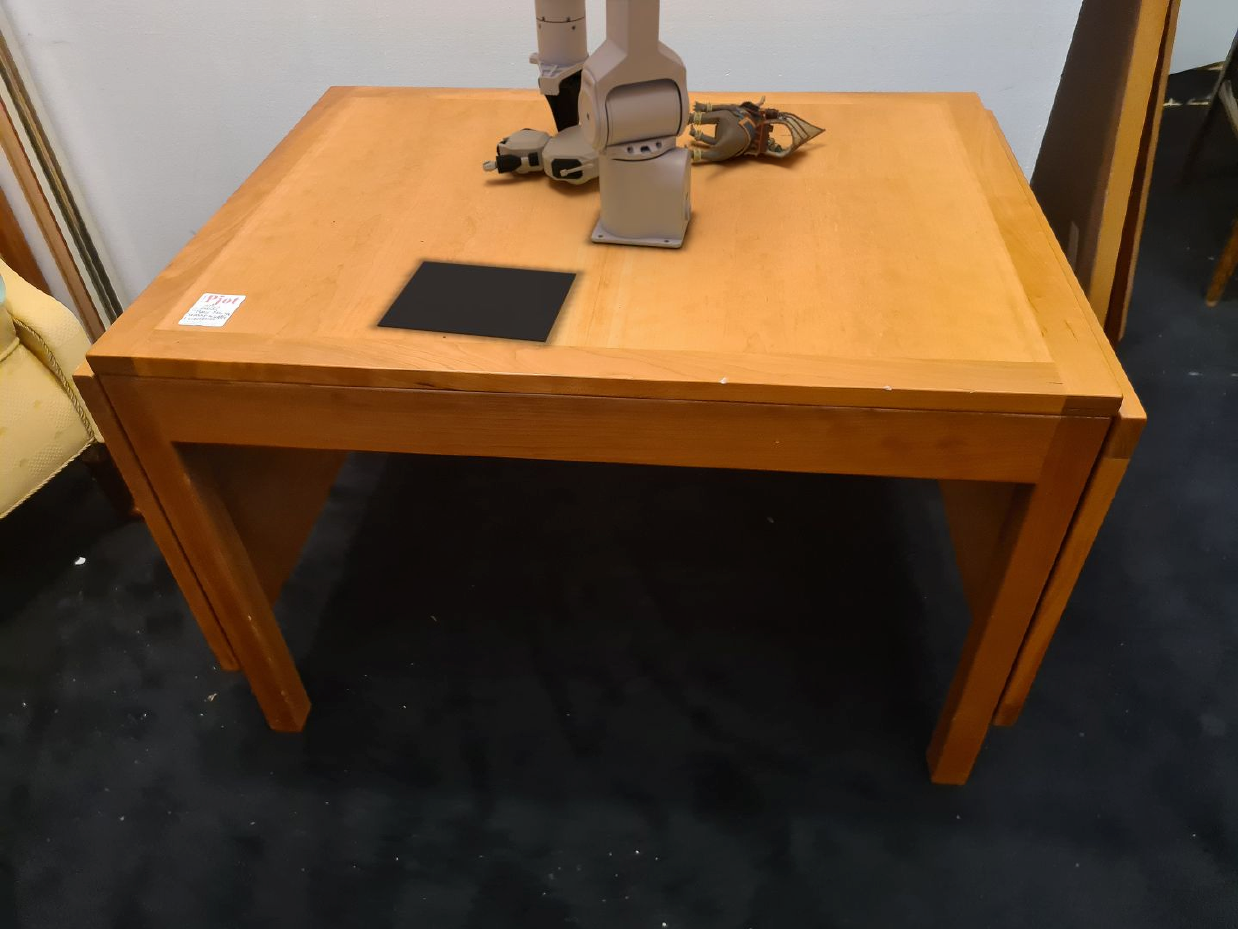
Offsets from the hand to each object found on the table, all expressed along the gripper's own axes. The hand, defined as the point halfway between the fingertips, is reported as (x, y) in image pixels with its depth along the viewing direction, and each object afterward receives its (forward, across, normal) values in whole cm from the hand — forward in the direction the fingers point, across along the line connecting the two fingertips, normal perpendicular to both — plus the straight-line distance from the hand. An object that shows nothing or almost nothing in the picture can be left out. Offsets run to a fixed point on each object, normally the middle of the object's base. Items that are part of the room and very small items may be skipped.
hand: (568, 134), depth 108 cm
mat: (+2, +36, 0) cm, 36 cm away
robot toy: (+2, +7, 0) cm, 7 cm away
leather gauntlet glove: (+2, -3, +23) cm, 23 cm away
